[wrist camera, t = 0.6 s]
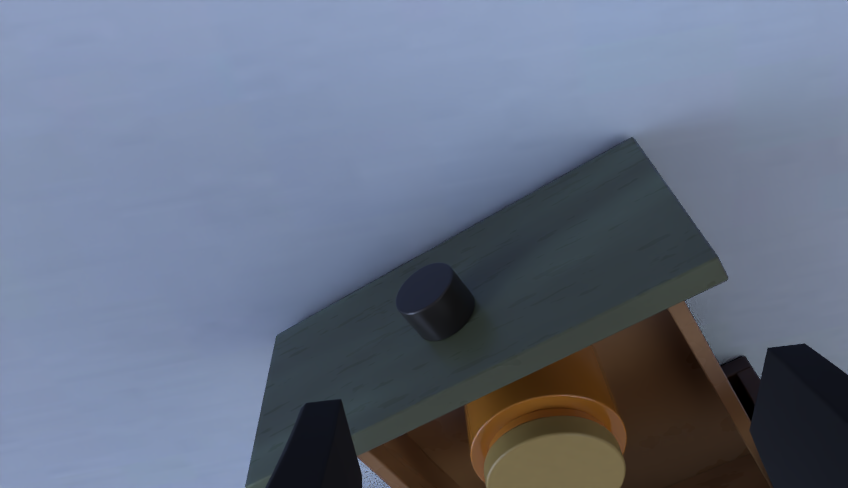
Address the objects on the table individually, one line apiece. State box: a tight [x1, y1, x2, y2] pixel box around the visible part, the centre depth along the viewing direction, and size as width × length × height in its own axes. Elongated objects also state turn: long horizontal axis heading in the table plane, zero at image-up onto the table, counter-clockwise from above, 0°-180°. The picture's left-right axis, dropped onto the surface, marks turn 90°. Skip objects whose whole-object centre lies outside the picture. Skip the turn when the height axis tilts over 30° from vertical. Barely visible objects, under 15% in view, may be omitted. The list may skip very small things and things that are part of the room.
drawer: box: [245, 137, 773, 488], centre depth 22 cm, size 16×13×6 cm
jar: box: [464, 344, 627, 488], centre depth 21 cm, size 5×5×4 cm
